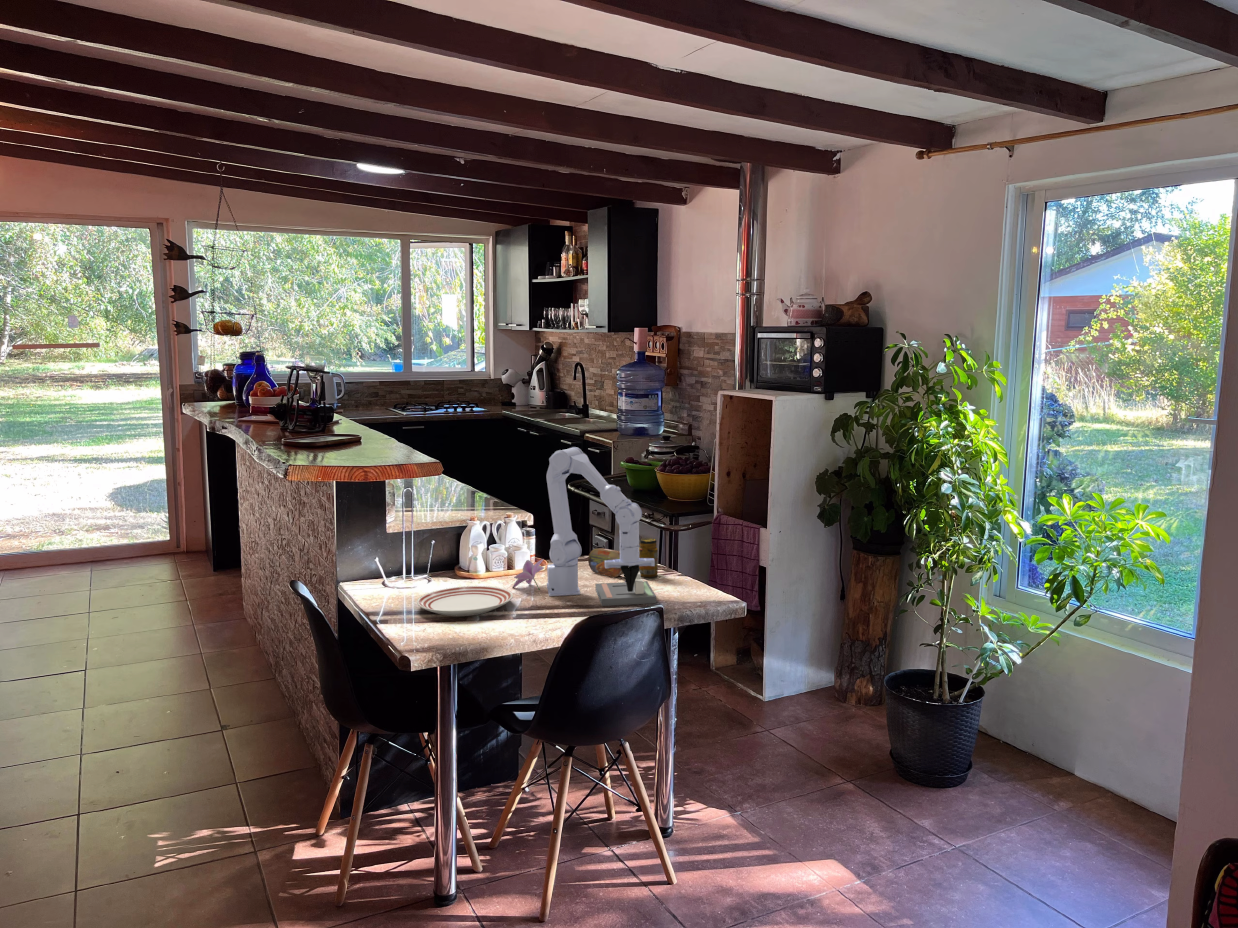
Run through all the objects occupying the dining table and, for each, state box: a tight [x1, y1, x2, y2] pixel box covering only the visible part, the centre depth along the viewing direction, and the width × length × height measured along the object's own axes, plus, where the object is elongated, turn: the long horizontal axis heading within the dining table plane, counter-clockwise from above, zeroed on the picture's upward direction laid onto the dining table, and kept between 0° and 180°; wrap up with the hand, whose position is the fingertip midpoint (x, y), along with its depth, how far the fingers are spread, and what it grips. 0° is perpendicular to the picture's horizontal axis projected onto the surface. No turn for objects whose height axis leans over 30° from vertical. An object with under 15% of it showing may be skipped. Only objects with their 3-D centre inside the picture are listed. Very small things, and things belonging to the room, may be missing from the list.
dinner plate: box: [416, 585, 514, 617], centre depth 267 cm, size 27×27×3 cm
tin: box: [587, 547, 624, 578], centre depth 301 cm, size 15×3×8 cm, turn 50°
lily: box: [512, 558, 545, 591], centre depth 286 cm, size 12×12×10 cm
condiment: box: [639, 537, 668, 581], centre depth 298 cm, size 7×8×12 cm
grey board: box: [594, 580, 657, 607], centre depth 276 cm, size 16×17×2 cm
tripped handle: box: [634, 578, 644, 594], centre depth 271 cm, size 2×3×4 cm
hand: (630, 590), depth 271 cm, fingers closed
